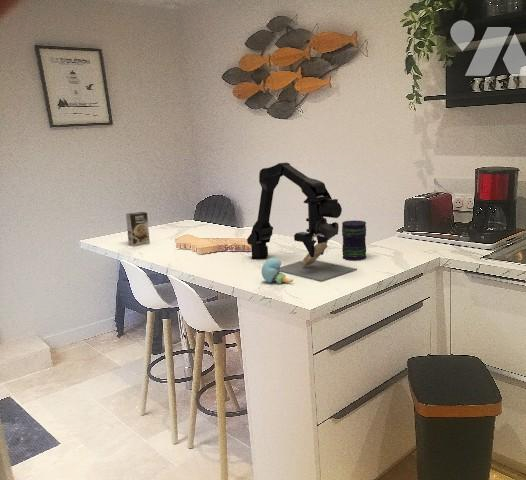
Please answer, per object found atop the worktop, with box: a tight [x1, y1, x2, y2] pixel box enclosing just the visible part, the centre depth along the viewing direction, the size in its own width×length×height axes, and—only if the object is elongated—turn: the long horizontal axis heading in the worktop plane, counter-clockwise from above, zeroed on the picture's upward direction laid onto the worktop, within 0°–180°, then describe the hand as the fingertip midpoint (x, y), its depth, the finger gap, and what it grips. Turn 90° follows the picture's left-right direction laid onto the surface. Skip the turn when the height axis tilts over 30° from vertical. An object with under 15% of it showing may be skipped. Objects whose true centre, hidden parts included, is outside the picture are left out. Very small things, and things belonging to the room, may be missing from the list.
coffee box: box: [125, 211, 151, 247], centre depth 259 cm, size 9×6×16 cm
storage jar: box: [341, 219, 367, 262], centre depth 210 cm, size 10×10×15 cm
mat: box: [280, 259, 358, 283], centre depth 197 cm, size 25×20×1 cm
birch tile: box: [301, 242, 329, 267], centre depth 195 cm, size 2×5×12 cm
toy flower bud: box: [261, 257, 294, 285], centre depth 182 cm, size 7×9×12 cm
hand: (317, 256), depth 194 cm, fingers closed on birch tile, 5 cm apart
